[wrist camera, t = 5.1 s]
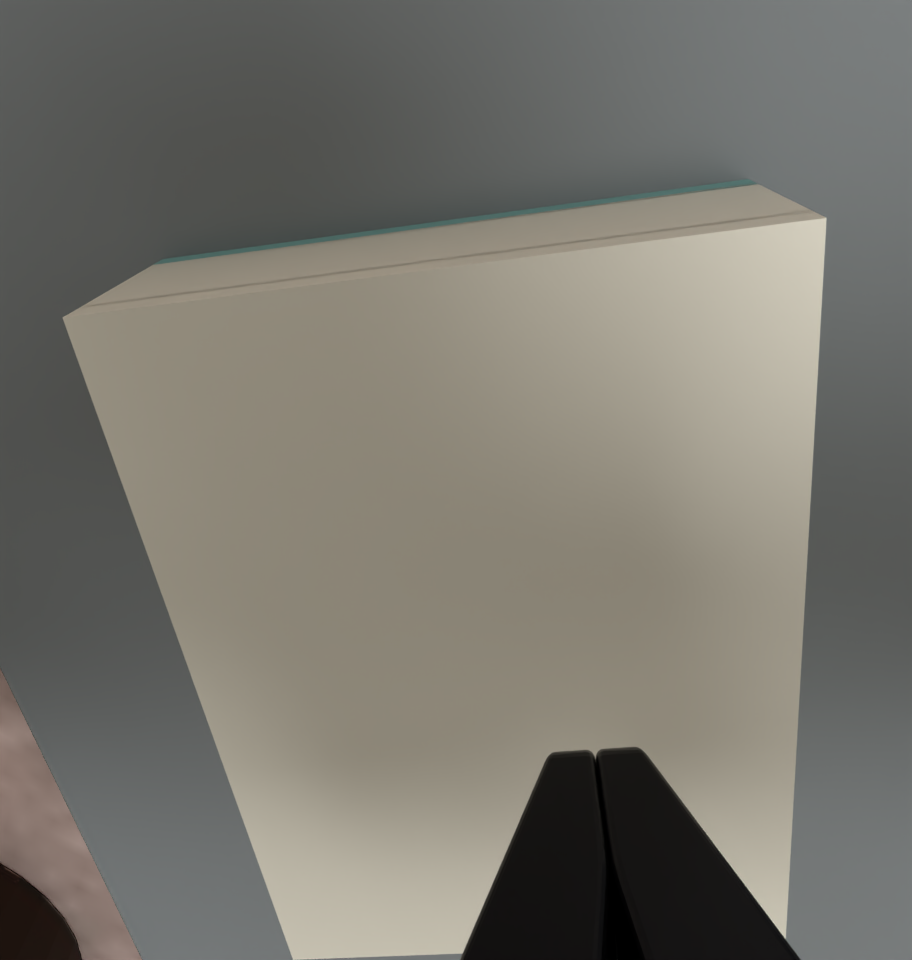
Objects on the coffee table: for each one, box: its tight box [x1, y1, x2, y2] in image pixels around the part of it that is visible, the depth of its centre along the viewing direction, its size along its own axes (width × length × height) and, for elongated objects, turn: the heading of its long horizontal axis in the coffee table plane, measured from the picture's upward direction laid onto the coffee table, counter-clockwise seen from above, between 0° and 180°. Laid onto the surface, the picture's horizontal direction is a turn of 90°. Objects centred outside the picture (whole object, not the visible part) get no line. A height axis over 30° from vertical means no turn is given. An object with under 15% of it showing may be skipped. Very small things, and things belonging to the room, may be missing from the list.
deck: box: [63, 179, 827, 960], centre depth 10 cm, size 9×2×6 cm
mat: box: [0, 0, 912, 960], centre depth 11 cm, size 22×16×1 cm
